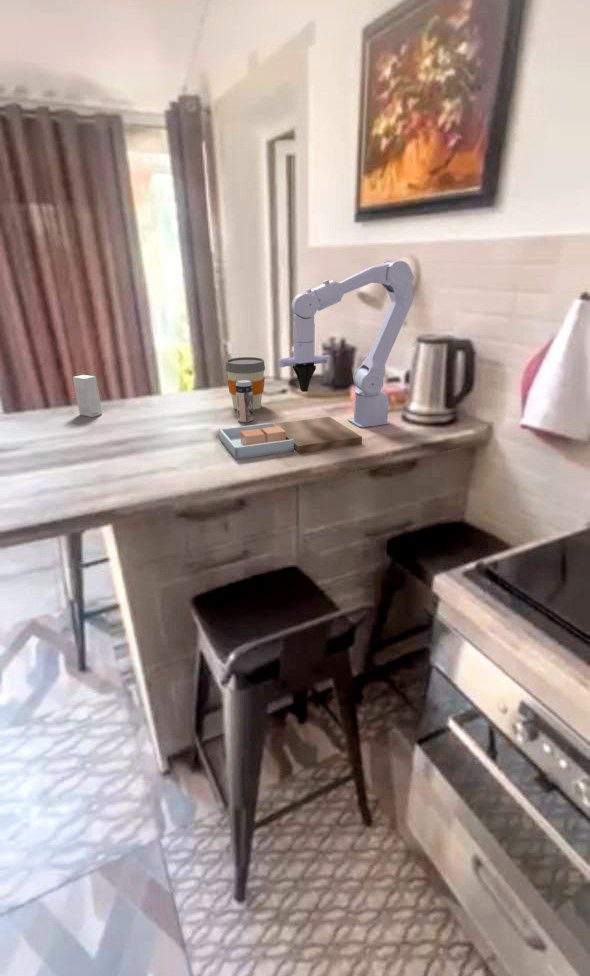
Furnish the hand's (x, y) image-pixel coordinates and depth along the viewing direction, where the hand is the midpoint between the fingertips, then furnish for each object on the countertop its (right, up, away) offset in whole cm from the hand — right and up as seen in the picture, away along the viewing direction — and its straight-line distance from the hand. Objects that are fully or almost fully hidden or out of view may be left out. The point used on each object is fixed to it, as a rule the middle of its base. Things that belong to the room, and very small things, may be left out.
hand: (304, 390), depth 144 cm
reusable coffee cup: (-18, -1, +24) cm, 30 cm away
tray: (-13, -16, -10) cm, 23 cm away
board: (+3, -13, -5) cm, 14 cm away
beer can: (-17, -7, +10) cm, 21 cm away
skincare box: (-67, -4, +18) cm, 69 cm away
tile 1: (-14, -16, -11) cm, 23 cm away
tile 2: (-8, -15, -9) cm, 19 cm away
